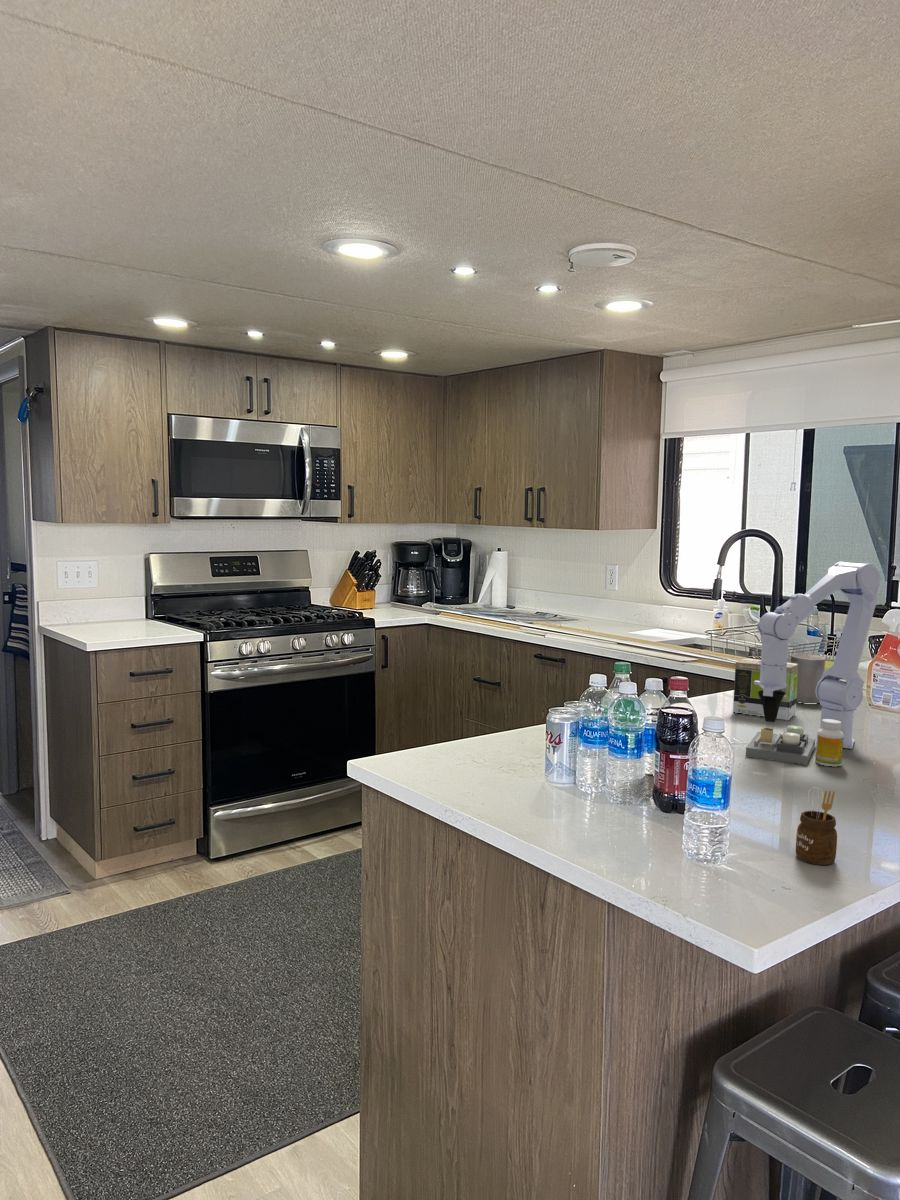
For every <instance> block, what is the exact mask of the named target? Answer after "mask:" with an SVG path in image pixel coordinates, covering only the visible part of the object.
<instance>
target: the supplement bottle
mask: <svg viewBox="0 0 900 1200" xmlns="http://www.w3.org/2000/svg"><path fill="white" fill-rule="evenodd" d="M820 724H821V723H820ZM821 725H822V727H823V728H822V729H820V728H819V729H818V730H817V734H816V742H817V744H816V743H815V760H814V761H815V763H816V764H818V765H820V766H823V765H824V767H829V766H832V767H831V768H833V767H835V768H838V767H840V766H841V765H842V760H843V739H844V734H843V732H841V731H840V729H841V722H840V721H838V720H833V719H823V720H822V724H821ZM837 766H838V767H837Z"/></svg>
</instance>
